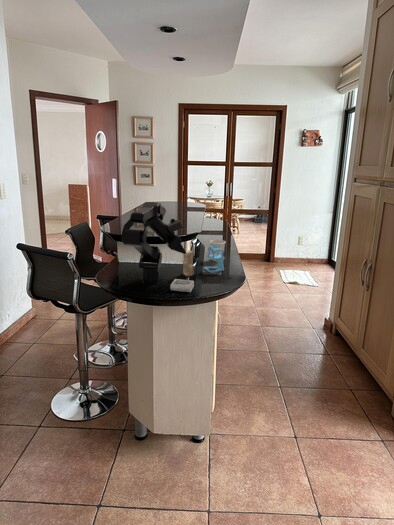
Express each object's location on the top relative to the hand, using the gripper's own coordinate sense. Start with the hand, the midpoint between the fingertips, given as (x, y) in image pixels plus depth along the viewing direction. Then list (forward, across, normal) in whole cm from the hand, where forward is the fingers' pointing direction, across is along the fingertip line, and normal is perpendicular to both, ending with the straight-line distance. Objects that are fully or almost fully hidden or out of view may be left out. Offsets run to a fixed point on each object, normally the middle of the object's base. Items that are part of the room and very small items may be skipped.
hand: (182, 250), depth 165 cm
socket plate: (+5, -16, +12) cm, 21 cm away
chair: (+20, +4, -4) cm, 21 cm away
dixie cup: (+25, +20, -9) cm, 34 cm away
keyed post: (+10, 0, +6) cm, 12 cm away
